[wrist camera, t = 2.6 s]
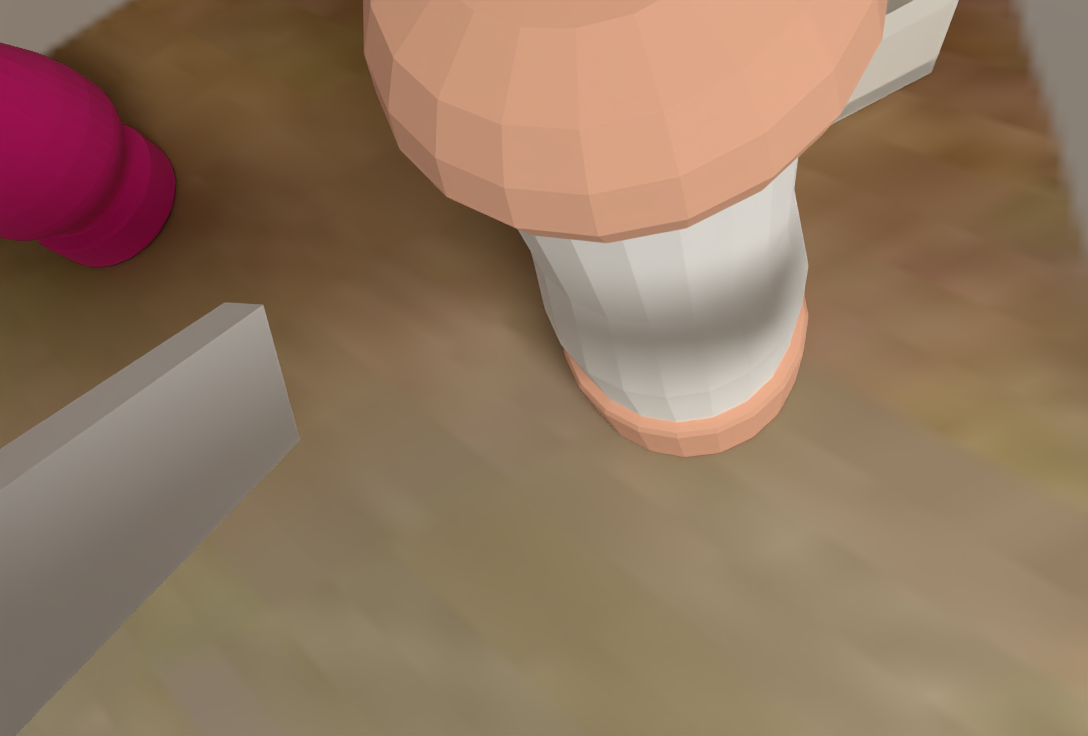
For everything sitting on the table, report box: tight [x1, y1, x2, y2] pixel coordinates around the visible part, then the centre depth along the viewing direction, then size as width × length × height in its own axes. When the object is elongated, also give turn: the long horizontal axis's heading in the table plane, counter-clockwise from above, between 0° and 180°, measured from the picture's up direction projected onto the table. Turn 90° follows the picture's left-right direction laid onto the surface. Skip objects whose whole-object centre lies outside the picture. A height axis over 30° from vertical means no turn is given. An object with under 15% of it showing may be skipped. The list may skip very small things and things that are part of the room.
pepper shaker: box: [363, 0, 888, 457], centre depth 17 cm, size 7×7×19 cm
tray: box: [832, 0, 959, 124], centre depth 27 cm, size 12×12×4 cm
